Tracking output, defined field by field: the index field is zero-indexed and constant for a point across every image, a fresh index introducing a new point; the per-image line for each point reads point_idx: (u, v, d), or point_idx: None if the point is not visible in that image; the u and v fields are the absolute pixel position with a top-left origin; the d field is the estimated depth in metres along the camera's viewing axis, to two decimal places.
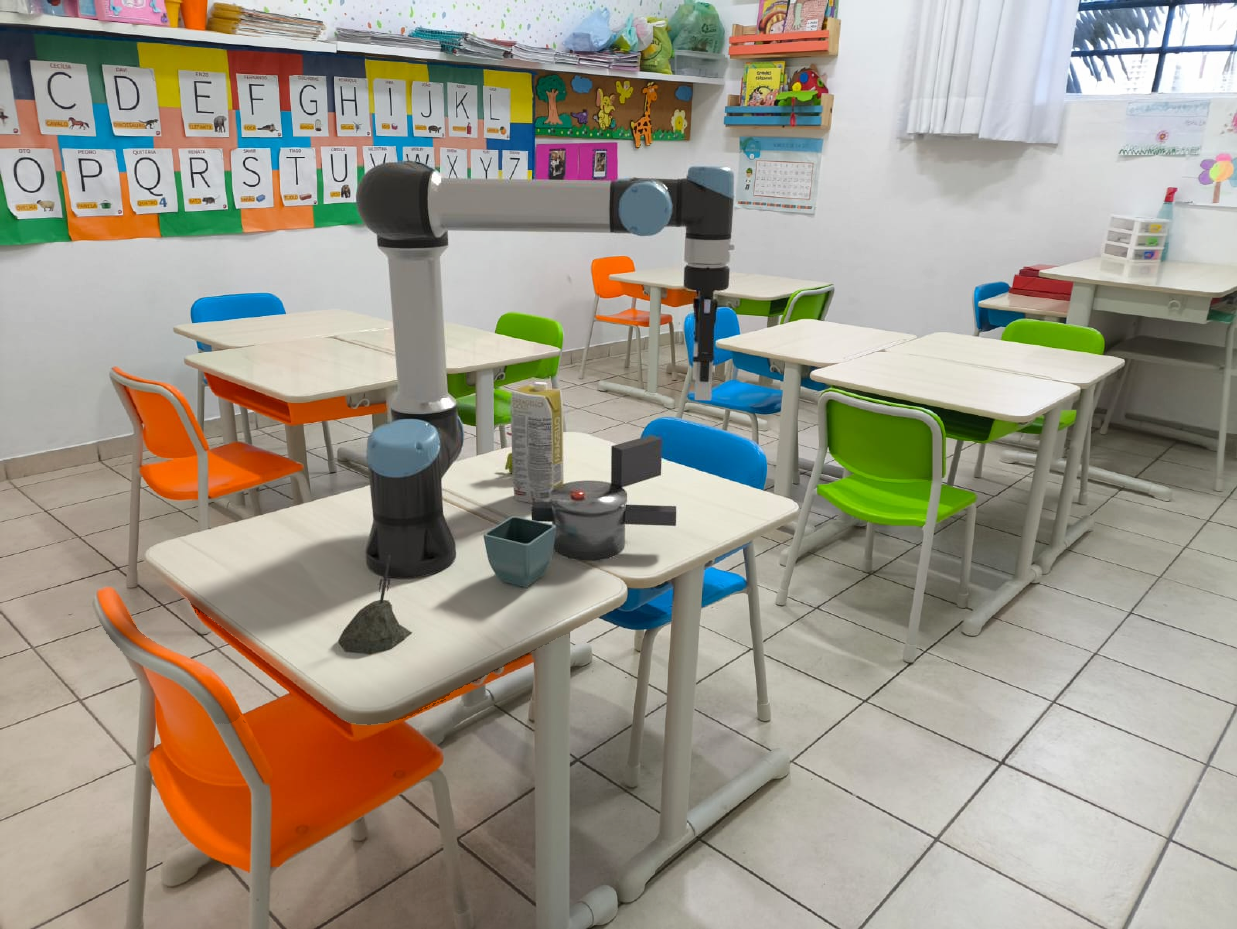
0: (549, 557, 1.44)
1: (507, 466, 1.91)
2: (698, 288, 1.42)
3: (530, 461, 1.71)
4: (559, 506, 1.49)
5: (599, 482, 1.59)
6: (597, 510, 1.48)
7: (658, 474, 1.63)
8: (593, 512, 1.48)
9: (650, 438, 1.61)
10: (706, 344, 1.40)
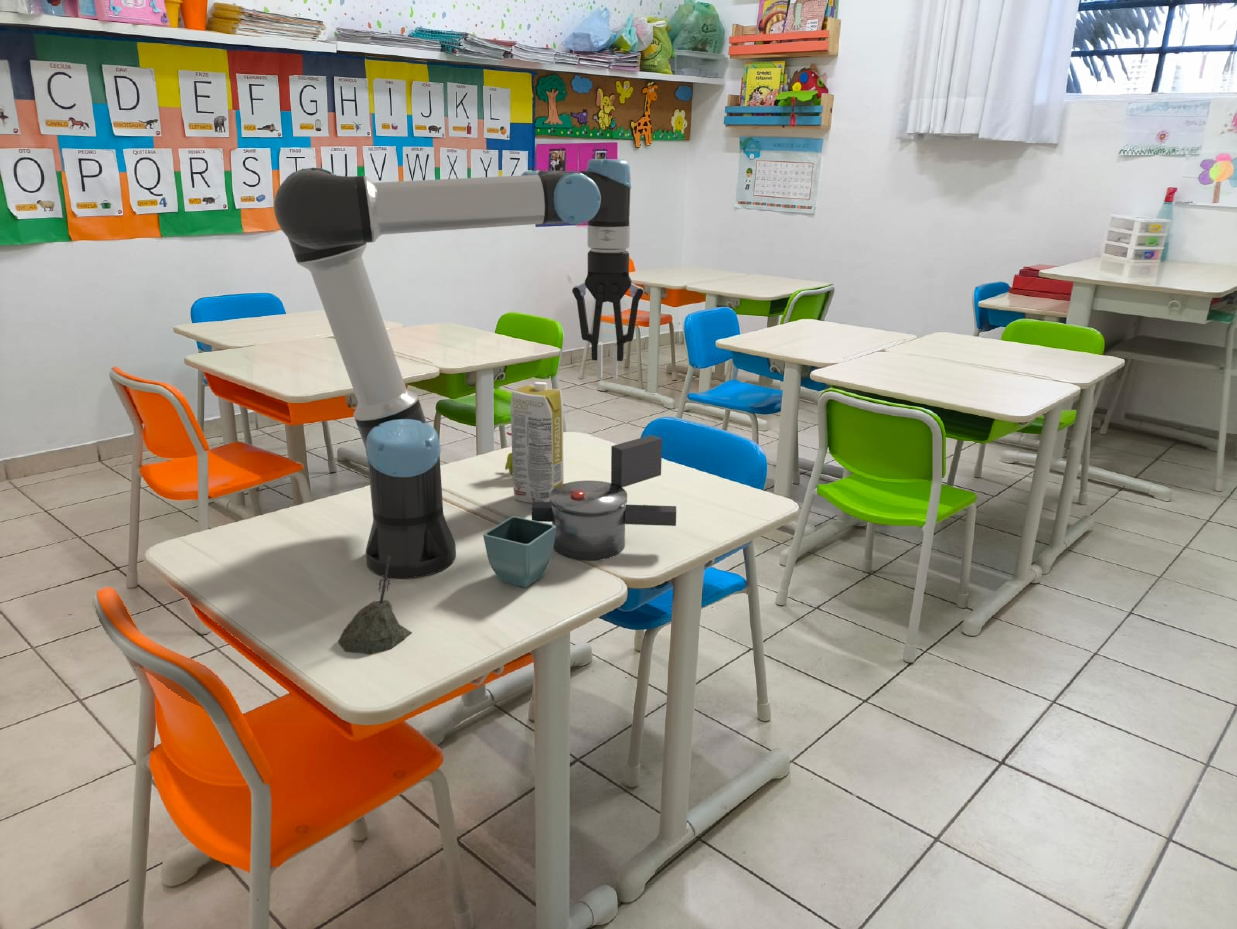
0: (549, 557, 1.44)
1: (507, 466, 1.91)
2: None
3: (530, 461, 1.71)
4: (559, 506, 1.49)
5: (599, 482, 1.59)
6: (597, 510, 1.48)
7: (658, 474, 1.63)
8: (593, 512, 1.48)
9: (650, 438, 1.61)
10: None
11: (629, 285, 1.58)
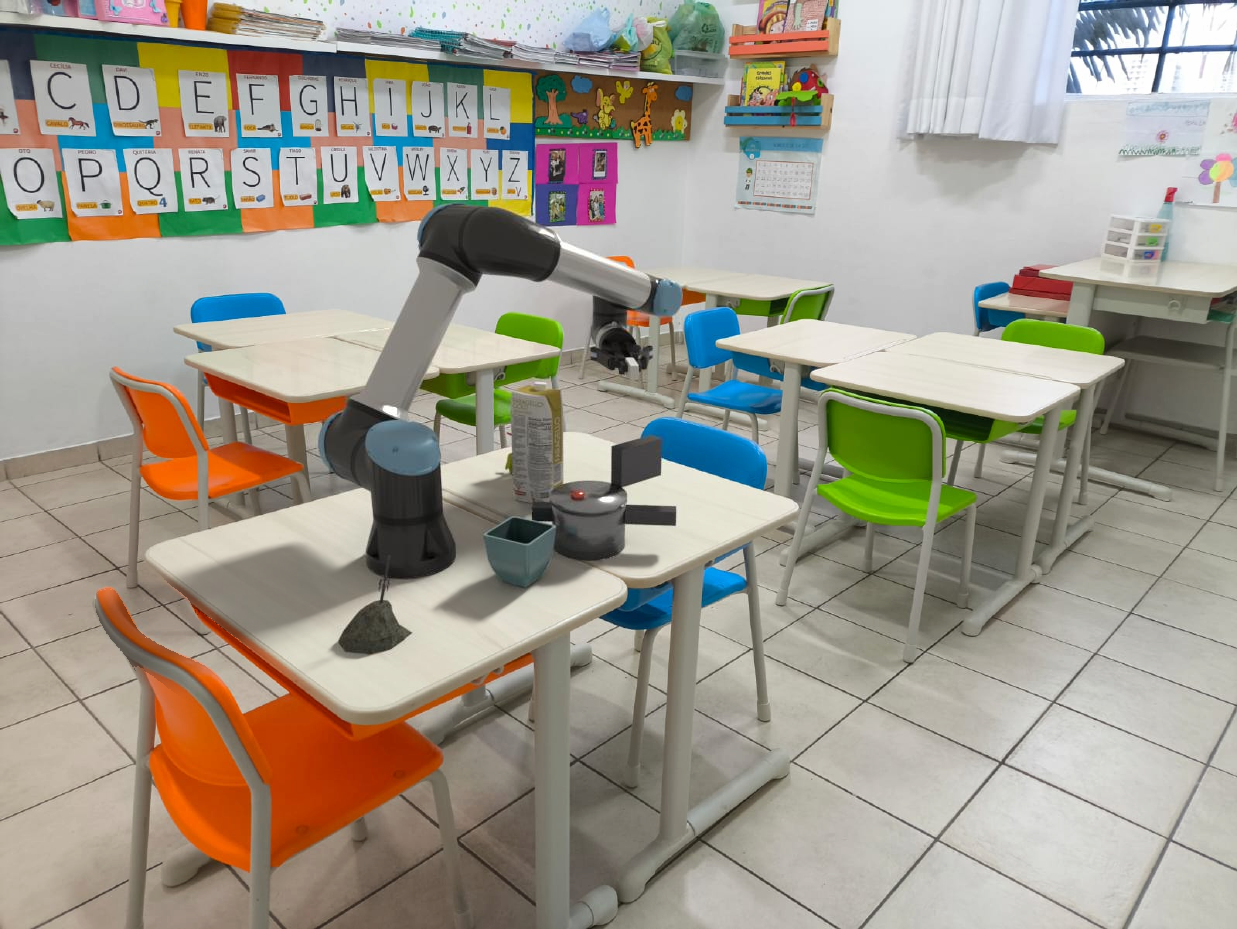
0: (549, 557, 1.44)
1: (507, 466, 1.91)
2: None
3: (530, 461, 1.71)
4: (559, 506, 1.49)
5: (599, 482, 1.59)
6: (597, 510, 1.48)
7: (658, 474, 1.63)
8: (593, 512, 1.48)
9: (650, 438, 1.61)
10: (605, 361, 1.68)
11: (639, 346, 1.76)
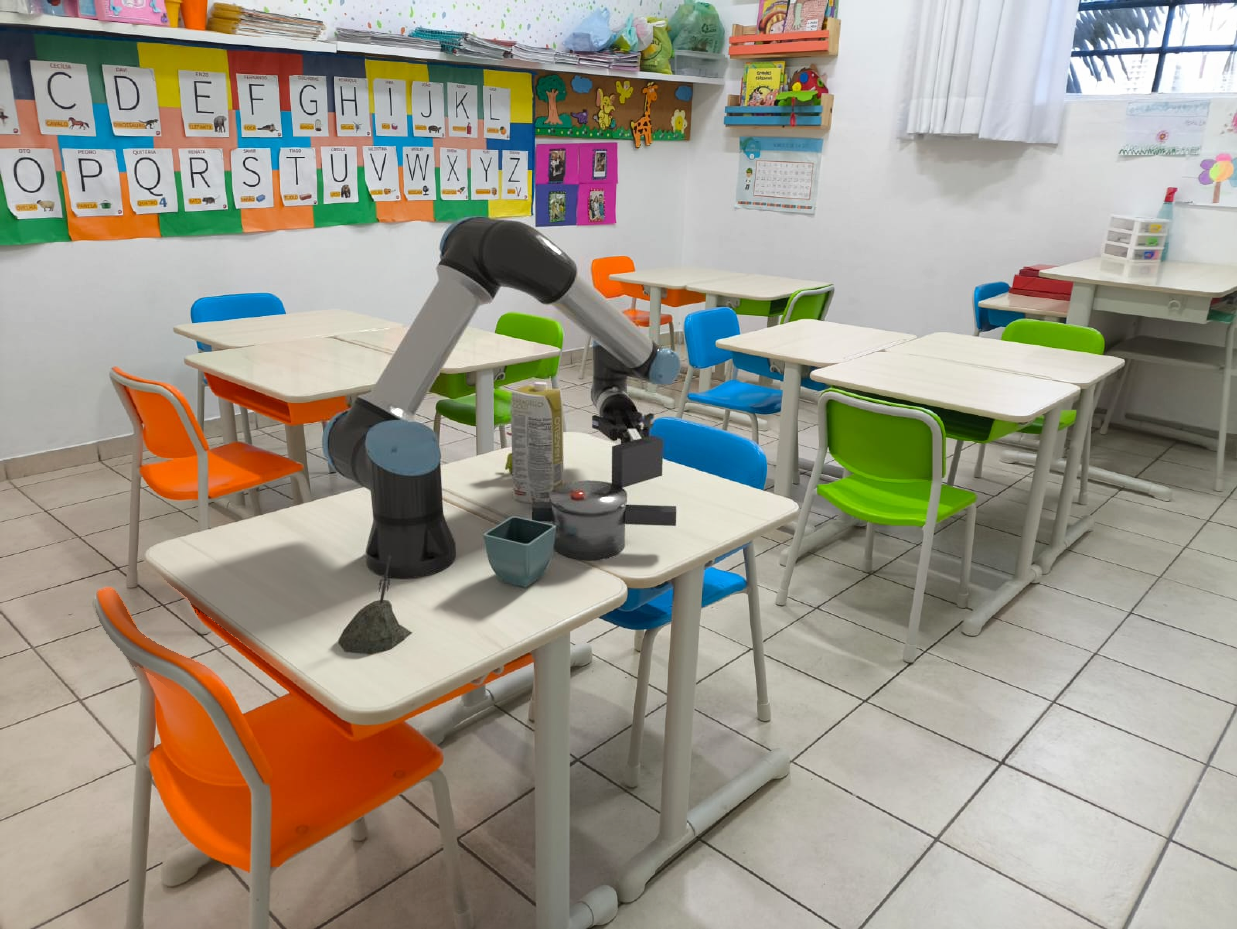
0: (549, 557, 1.44)
1: (507, 466, 1.91)
2: None
3: (530, 461, 1.71)
4: (559, 506, 1.50)
5: (600, 482, 1.59)
6: (596, 510, 1.48)
7: (659, 474, 1.62)
8: (592, 512, 1.48)
9: (651, 438, 1.61)
10: (607, 431, 1.70)
11: None
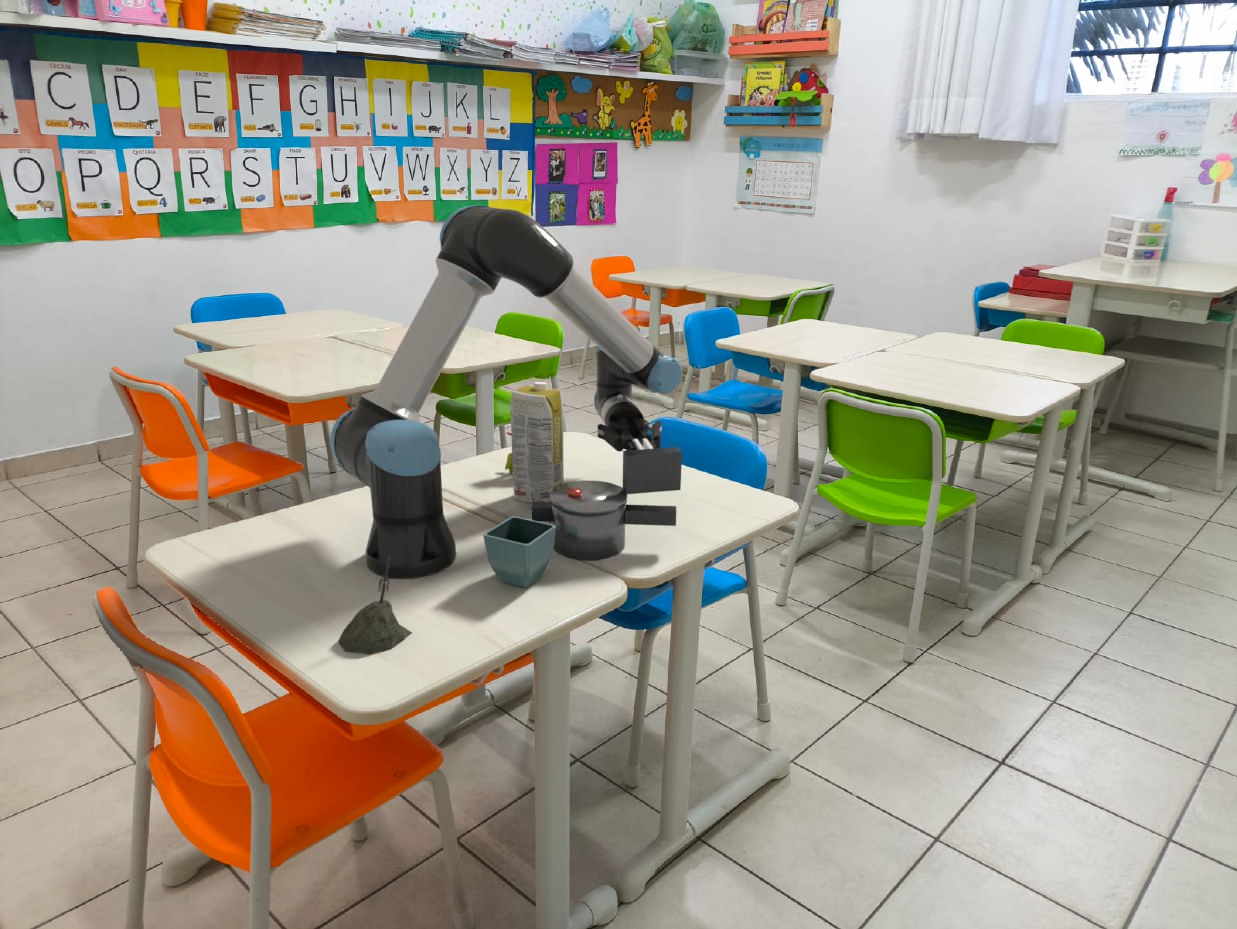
0: (549, 557, 1.44)
1: (507, 466, 1.91)
2: None
3: (530, 461, 1.71)
4: (550, 500, 1.52)
5: (613, 485, 1.58)
6: (577, 510, 1.48)
7: (676, 488, 1.56)
8: (574, 511, 1.48)
9: (670, 450, 1.55)
10: (612, 441, 1.64)
11: (648, 422, 1.72)
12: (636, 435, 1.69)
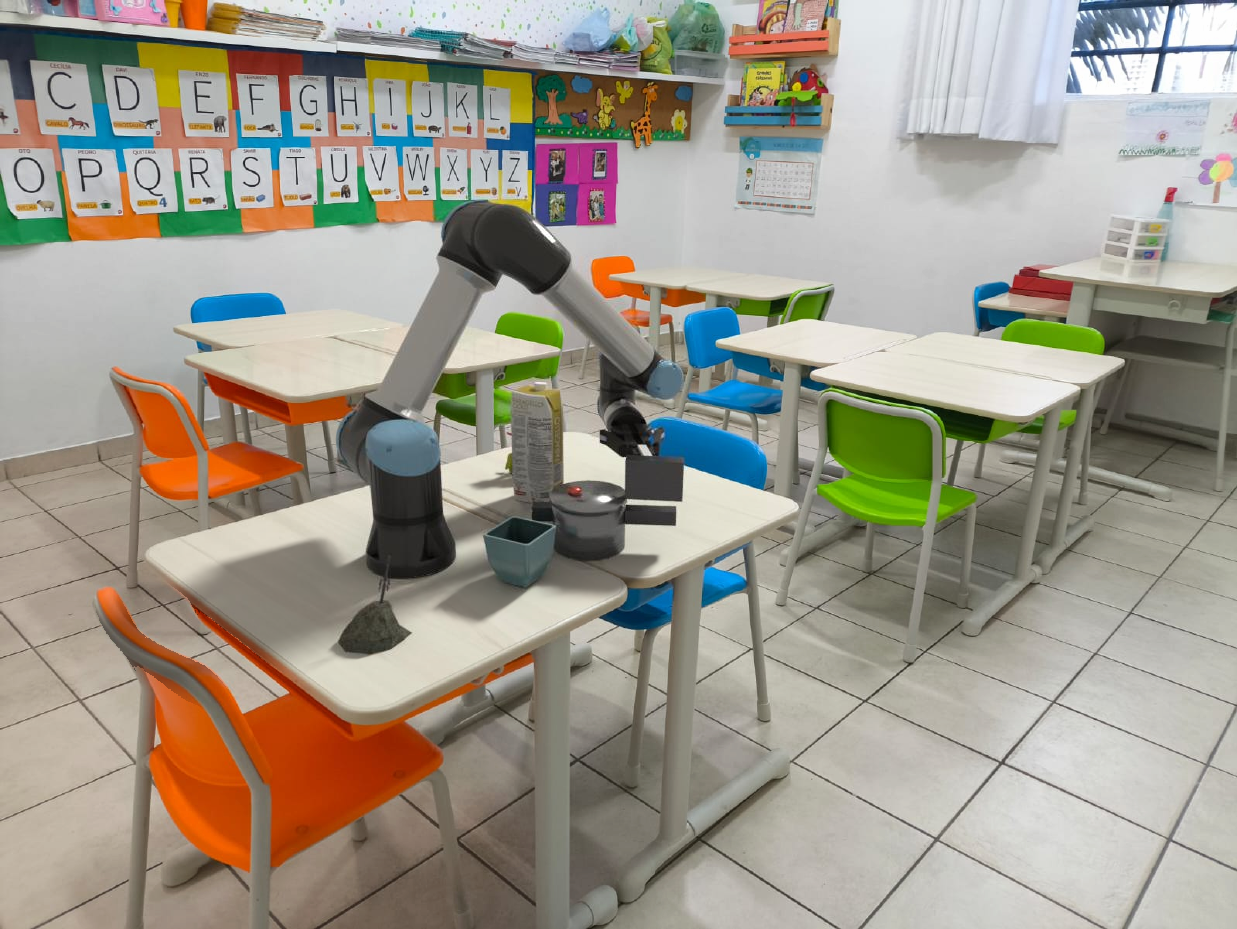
0: (549, 557, 1.44)
1: (507, 466, 1.91)
2: None
3: (530, 461, 1.71)
4: None
5: (619, 489, 1.56)
6: (565, 508, 1.49)
7: (678, 500, 1.51)
8: (562, 508, 1.49)
9: (674, 459, 1.50)
10: (616, 447, 1.61)
11: (650, 427, 1.69)
12: (637, 441, 1.66)
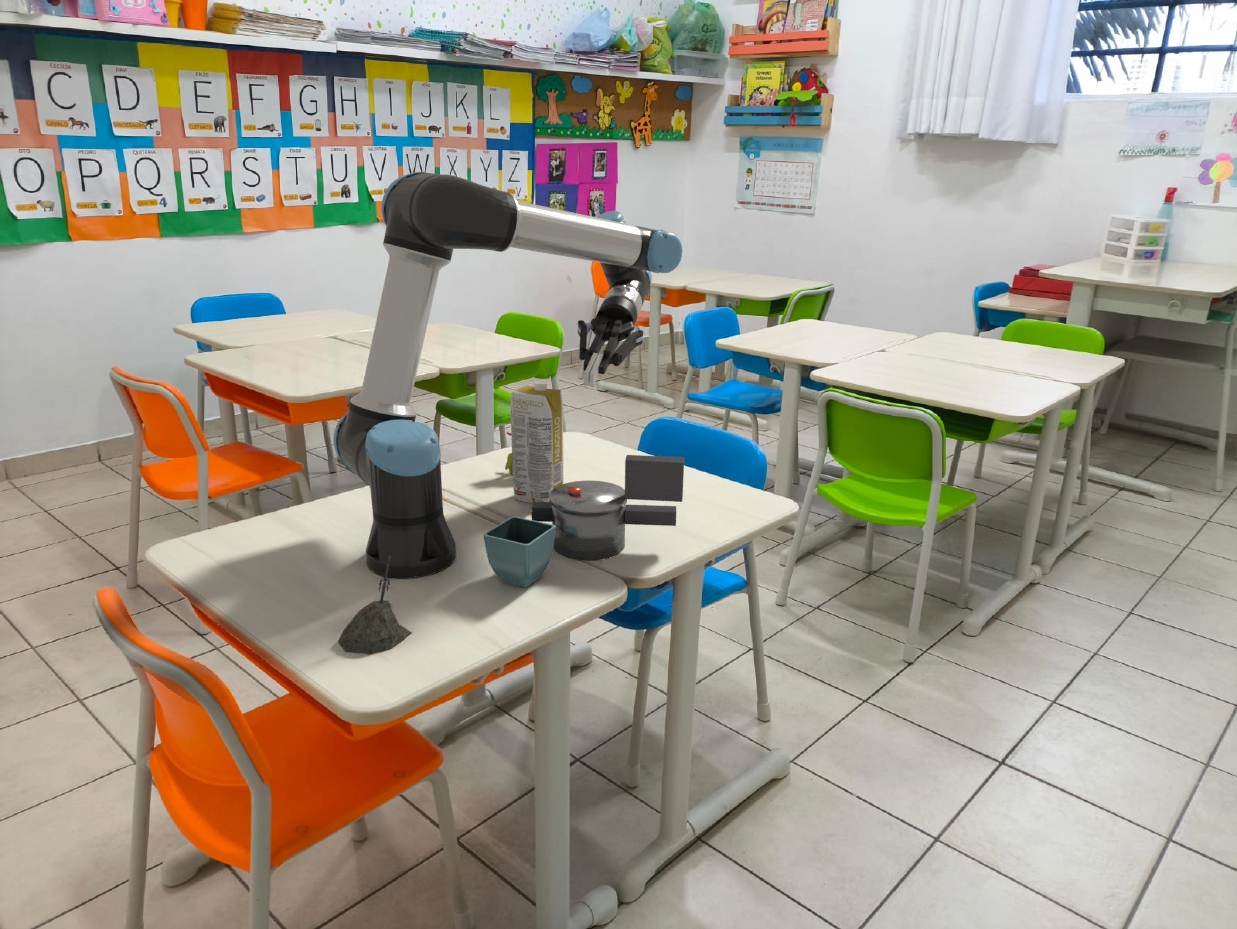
0: (549, 557, 1.44)
1: (507, 466, 1.91)
2: None
3: (530, 461, 1.71)
4: None
5: (620, 489, 1.56)
6: (565, 508, 1.49)
7: (678, 500, 1.51)
8: (562, 508, 1.49)
9: (674, 459, 1.50)
10: None
11: (632, 327, 1.65)
12: None
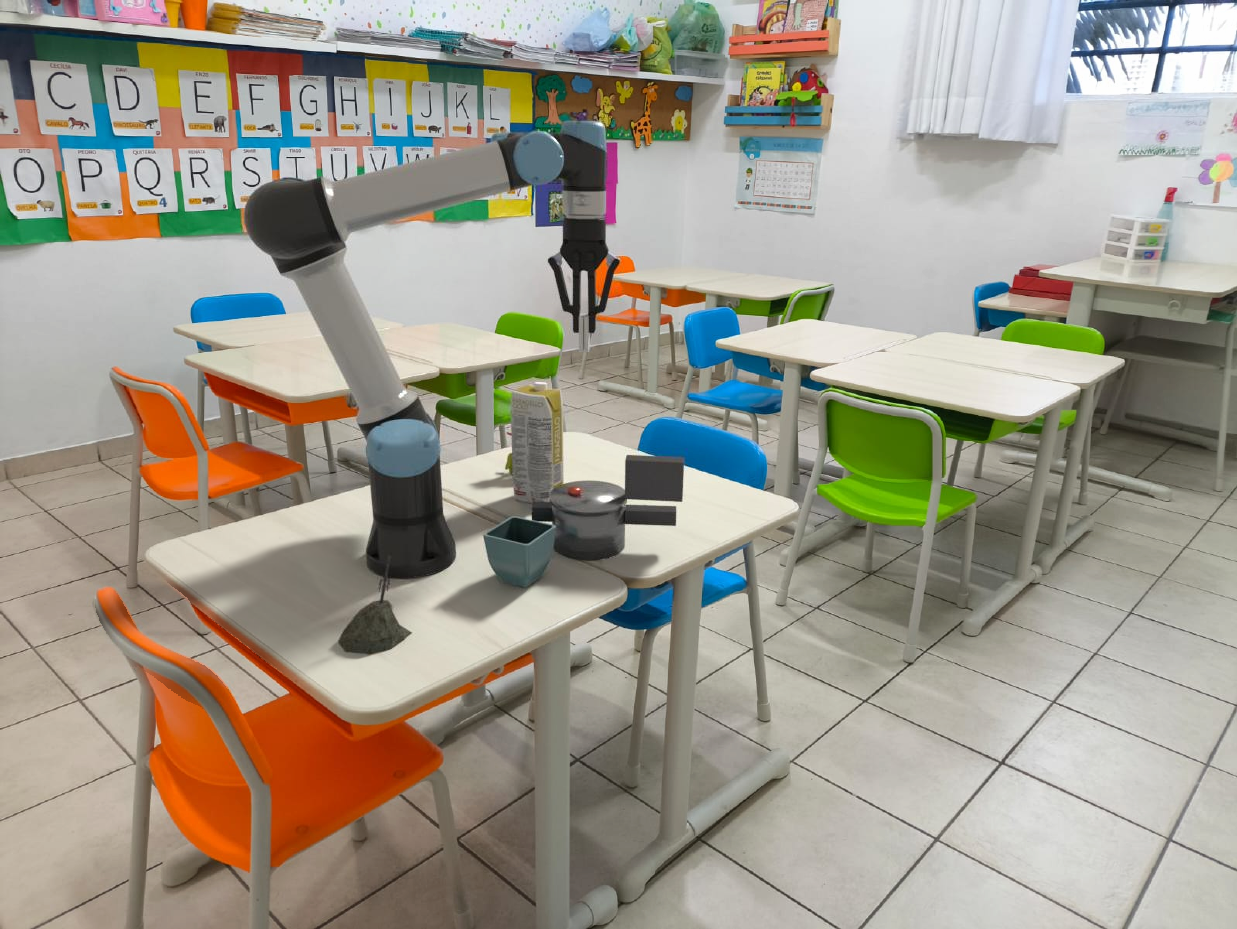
0: (549, 557, 1.44)
1: (507, 466, 1.91)
2: None
3: (530, 461, 1.71)
4: None
5: (620, 489, 1.56)
6: (565, 508, 1.49)
7: (678, 500, 1.51)
8: (562, 508, 1.49)
9: (674, 459, 1.50)
10: None
11: (606, 253, 1.52)
12: None
